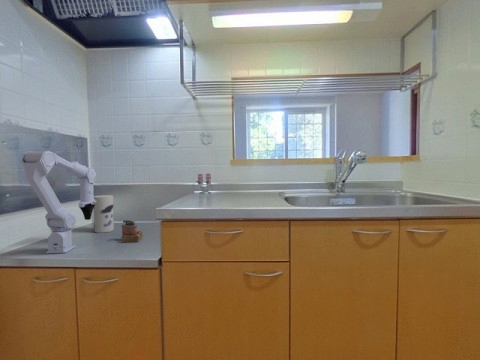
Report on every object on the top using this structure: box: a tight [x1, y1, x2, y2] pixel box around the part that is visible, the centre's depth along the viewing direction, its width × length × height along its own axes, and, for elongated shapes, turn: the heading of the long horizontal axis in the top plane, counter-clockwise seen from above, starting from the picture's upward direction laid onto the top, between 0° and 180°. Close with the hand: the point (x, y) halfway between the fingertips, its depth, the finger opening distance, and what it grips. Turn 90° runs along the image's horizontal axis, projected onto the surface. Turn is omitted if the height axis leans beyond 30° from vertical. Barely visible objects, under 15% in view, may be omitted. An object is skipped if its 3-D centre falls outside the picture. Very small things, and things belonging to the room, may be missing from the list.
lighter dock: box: [121, 230, 144, 244], centre depth 131 cm, size 10×8×3 cm
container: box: [93, 194, 115, 234], centre depth 149 cm, size 10×10×20 cm
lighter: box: [121, 219, 138, 237], centre depth 131 cm, size 8×3×10 cm, turn 80°
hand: (87, 219), depth 129 cm, fingers closed
